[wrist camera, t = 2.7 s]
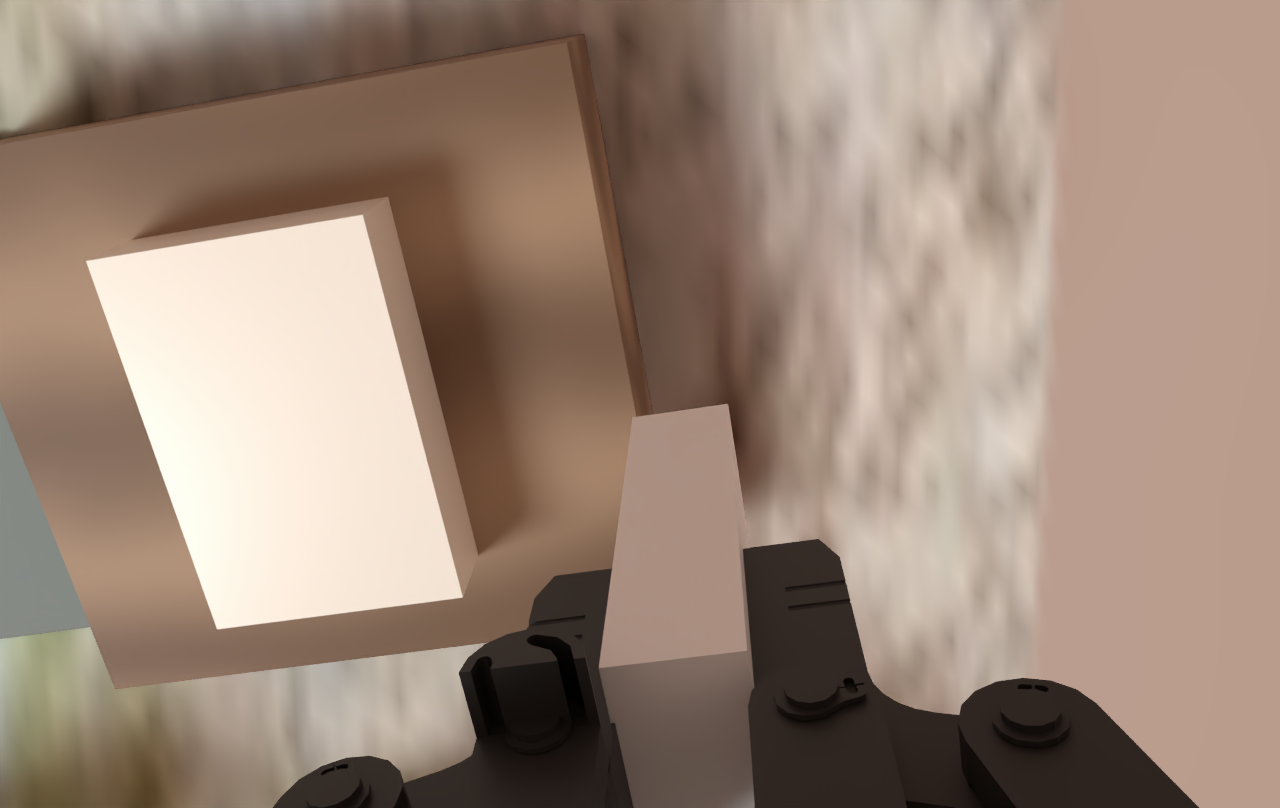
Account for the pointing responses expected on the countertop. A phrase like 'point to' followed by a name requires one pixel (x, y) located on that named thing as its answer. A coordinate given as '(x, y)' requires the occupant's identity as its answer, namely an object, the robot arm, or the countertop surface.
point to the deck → (446, 305)
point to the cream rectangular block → (292, 412)
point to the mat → (30, 555)
